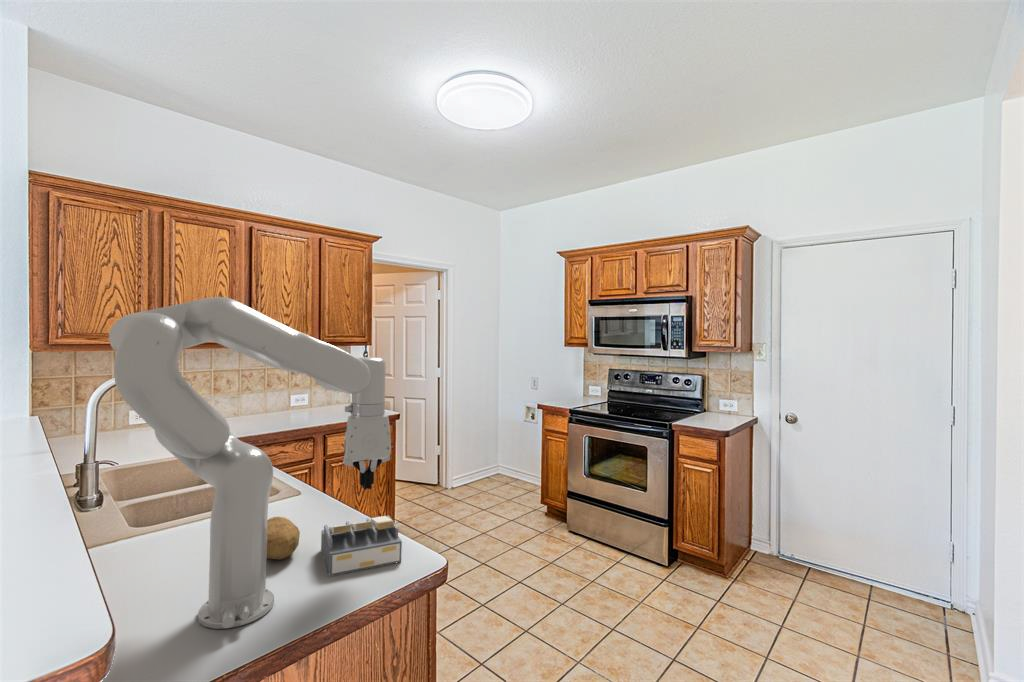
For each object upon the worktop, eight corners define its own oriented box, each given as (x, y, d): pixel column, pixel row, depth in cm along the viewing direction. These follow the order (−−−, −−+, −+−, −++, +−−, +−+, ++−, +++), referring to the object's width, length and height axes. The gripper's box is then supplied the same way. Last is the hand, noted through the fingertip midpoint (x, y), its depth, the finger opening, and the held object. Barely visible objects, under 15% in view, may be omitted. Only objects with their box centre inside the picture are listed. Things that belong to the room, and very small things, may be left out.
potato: (256, 574, 106) (257, 538, 106) (252, 548, 118) (253, 516, 118) (304, 564, 111) (305, 529, 111) (296, 541, 123) (297, 510, 123)
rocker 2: (372, 527, 113) (372, 521, 113) (356, 530, 111) (356, 523, 112) (365, 527, 119) (365, 521, 120) (350, 530, 118) (350, 523, 118)
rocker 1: (350, 531, 110) (350, 524, 111) (334, 533, 109) (333, 527, 109) (344, 530, 117) (344, 524, 117) (328, 533, 115) (328, 527, 116)
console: (401, 562, 113) (402, 532, 113) (329, 577, 105) (330, 544, 105) (386, 539, 126) (387, 511, 125) (321, 550, 118) (321, 521, 118)
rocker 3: (393, 527, 115) (393, 520, 115) (378, 529, 113) (378, 523, 114) (385, 521, 122) (385, 515, 122) (370, 523, 120) (370, 517, 121)
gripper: (337, 414, 106) (335, 497, 106) (403, 410, 113) (402, 488, 113) (332, 409, 112) (330, 487, 113) (395, 406, 119) (393, 479, 120)
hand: (366, 487), depth 113 cm, fingers closed
